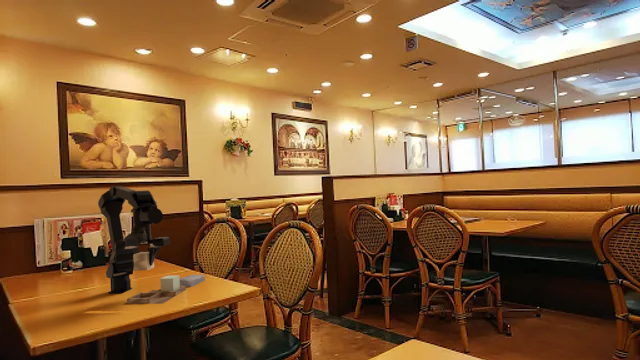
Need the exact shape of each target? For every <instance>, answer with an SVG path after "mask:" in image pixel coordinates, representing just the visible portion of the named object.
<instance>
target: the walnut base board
mask: <svg viewBox="0 0 640 360" xmlns="http://www.w3.org/2000/svg"><path fill="white" fill-rule="evenodd" d="M186 290H187V287H186V286H180V288H179V289H177V290H175V291H161V288H159V289H151V290H150V291H146V292H145V291H140V292H138V293H136V294H135V295H132V296H131V297H128V298H127V299H126V303H125V305H151V304H152V305H155V304H156V305H157V304H158V305H160V304H165V303H166V302H168V301H170V300H172V299H174V297H177V296H178V295H180V294H182V293H183V292H185V291H186Z"/></svg>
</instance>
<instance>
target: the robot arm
mask: <svg viewBox="0 0 640 360" xmlns="http://www.w3.org/2000/svg"><path fill="white" fill-rule="evenodd" d="M126 201H127V204H128V205H130V206H131V207H132V208H131V209H130V213H132V220H133V222H132V224H133V227H131V230H130V231H131V232H130V233H128V235H126V236H125V237H124V232H123V227H122V221H121V216H120V215H121V213H122V211H123V205H124V203H125V202H126ZM97 205H98V207H99V211H100V213H101V214H102V215H103V216H104V217H105V219H106V222H107V227H108V235H109V238H110V239H109V240H110V245H111V251H112V252H111V256H110V257H109V261H108V263H109V264H108V266H107V269H106V271H105V276H106V278H108V279H110V290H109V291H108V292H107V293H108V294H123V293H126V292H128V291H130V290H133V287H132V286H131V281H132V280H131V278H130V276H131V275H133V274H134V257H133V255H134V254H137V253H140V246H149V247H147V248H146V250H147V252H149V264H150V266H152V264H153V262H154V263H155V259H156V256H157V254H158V252H159V250H160V248H162V247H164V246H168V245H171V239H170V237H169V236H161V237H155V238H154V237H153V236H152V233H151V231H152V229H153V225H158V224H159V223H161V222H162V220H163V218H164V214H163V211H162V210H161V209H159V208H158V205H157V201H156V200H155V199H154V196H153V194H152V193H151V191H150V190H135V189H133V188H129V187H125V186H124V185H115V186H114V185H112V186H110V188H109V190H107V191H105V192H104V193H102V194H101V196H100V197H99V198H98V203H97Z"/></svg>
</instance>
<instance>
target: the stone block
mask: <svg viewBox="0 0 640 360" xmlns="http://www.w3.org/2000/svg"><path fill="white" fill-rule="evenodd" d="M179 280H180V286H186V288H192V287H195V286H196V285H199V284H200V283H202V282H205V281H206V277H205V275H204V274H203V275H201V274H190V275H187V276H184V277H180V278H179Z"/></svg>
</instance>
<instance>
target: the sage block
mask: <svg viewBox="0 0 640 360" xmlns="http://www.w3.org/2000/svg"><path fill="white" fill-rule="evenodd" d="M179 279H180V275H179V274H177V275H176V274H175V275H173V274H172V275H165V276H163V277H160V289H161V291H175V290H177V289H179V288H180V280H179Z"/></svg>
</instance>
